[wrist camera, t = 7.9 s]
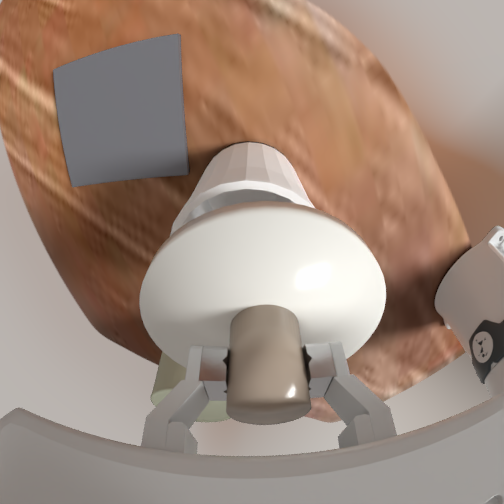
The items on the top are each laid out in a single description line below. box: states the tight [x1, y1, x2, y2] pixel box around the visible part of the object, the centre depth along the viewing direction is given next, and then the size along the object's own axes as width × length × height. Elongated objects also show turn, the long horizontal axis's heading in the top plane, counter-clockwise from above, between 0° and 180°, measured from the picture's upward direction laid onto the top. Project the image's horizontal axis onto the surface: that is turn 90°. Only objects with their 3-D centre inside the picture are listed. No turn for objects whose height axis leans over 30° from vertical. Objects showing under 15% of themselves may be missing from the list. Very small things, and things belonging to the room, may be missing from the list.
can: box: [151, 351, 230, 422], centre depth 30 cm, size 9×9×12 cm
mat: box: [53, 34, 190, 187], centre depth 19 cm, size 12×12×1 cm
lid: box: [139, 201, 386, 425], centre depth 11 cm, size 11×11×5 cm
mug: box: [170, 141, 315, 236], centre depth 20 cm, size 11×9×10 cm
